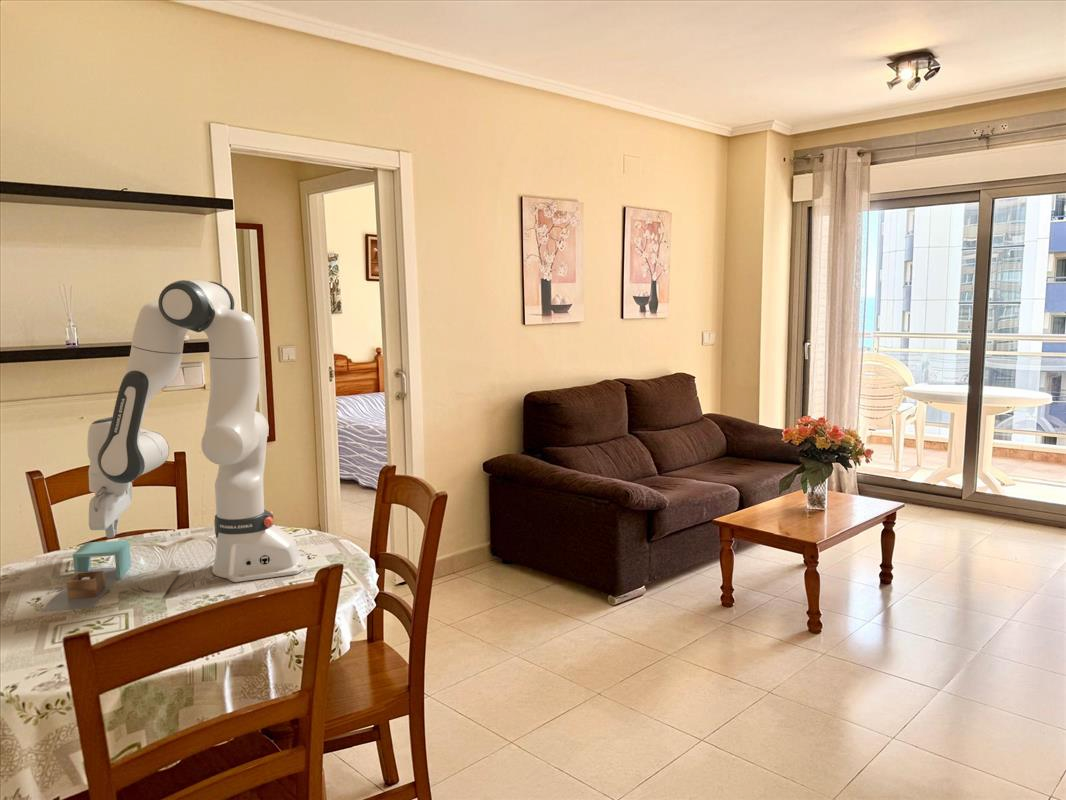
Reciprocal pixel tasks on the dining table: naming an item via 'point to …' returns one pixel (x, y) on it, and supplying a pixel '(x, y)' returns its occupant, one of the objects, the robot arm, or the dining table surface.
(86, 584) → the block
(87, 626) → the dining table surface
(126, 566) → the cover
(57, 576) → the dining table surface
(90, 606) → the housing base
